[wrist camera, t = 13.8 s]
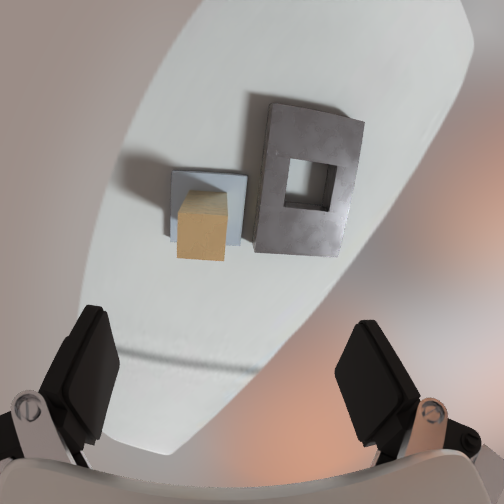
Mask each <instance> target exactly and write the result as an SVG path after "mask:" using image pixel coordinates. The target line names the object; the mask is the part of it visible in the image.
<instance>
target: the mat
mask: <svg viewBox="0 0 504 504" xmlns="http://www.w3.org/2000/svg"><path fill="white" fill-rule="evenodd" d="M247 177H248V176H247V175H242V174H230V173H216V172H199V171H177V170H173V171H172V177H171V214H170V242H177V223H178V211H179V209H180V207H181V205H182V203H183V201H184V200H185V198H186V196H187V194H188V192H189V190H198V191H212V192H225V193H227V204H228V222H227V233H226V244H225V245H233V246H240V243H241V233H242V224H243V214H244V205H245V196H246V186H247Z"/></svg>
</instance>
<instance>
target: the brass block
mask: <svg viewBox="0 0 504 504" xmlns="http://www.w3.org/2000/svg"><path fill="white" fill-rule="evenodd" d="M227 222H228V204H227V193H225V192H212V191H198V190H189V192H188V194H187V196H186V198H185V200H184V201H183V203H182V205H181V207H180V209H179V211H178V223H177V258H185V259H199V260H213V261H224V255H225V244H226V233H227Z"/></svg>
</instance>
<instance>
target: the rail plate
mask: <svg viewBox="0 0 504 504" xmlns="http://www.w3.org/2000/svg"><path fill="white" fill-rule="evenodd" d="M364 124H365V122H363V121H359V120H355V119H351V118H348V117H344V116H339V115H335V114H331V113H326V112H322V111H317V110H312V109H307V108H302V107H296V106H290V105H284V104H277V103H272V104H270V105H269V111H268V120H267V128H266V136H265V144H264V152H263V160H262V168H261V177H260V185H259V193H258V201H257V209H256V217H255V226H254V234H253V242H252V244H253V248H254V252H256V253H272V254H289V255H306V256H323V257H338V255H339V251H340V247H341V243H342V239H343V234H344V230H345V226H346V222H347V217H348V213H349V208H350V203H351V199H352V194H353V189H354V184H355V179H356V173H357V168H358V162H359V156H360V150H361V144H362V138H363V131H364ZM290 158H292V159H299V160H306V161H313V162H319V163H325V164H329V167H328V173H327V179H326V185H325V190H324V196H323V201H322V205H313V204H304V203H295V202H285V201H284V199H285V192H286V185H287V179H288V172H289V165H290Z"/></svg>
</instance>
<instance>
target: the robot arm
mask: <svg viewBox="0 0 504 504" xmlns="http://www.w3.org/2000/svg"><path fill="white" fill-rule="evenodd" d="M119 366H120V362H119V357H118V354H117V350H116V347H115V343H114V339H113V335H112V331H111V327H110V323H109V318H108V314H107V312H106V311H103V308H102V307H100V306H93V305H86V307H85V308H84V310H83V312H82V313H81V315H80V317H79V318H78V320H77V322H76V324H75V326H74V327H73V329H72V331H71V333H70V335H69V336H67V337H66V338H65V339H64V341H63V343H62V345H61V347H60V348H59V350H58V352H57V354H56V356H55V358H54V360H53V362H52V364H51V366H50V368H49V370H48V372H47V374H46V376H45V378H44V381H43V383H42V385H41V387H40V389H39V392H36V391H33V390H25V391H22V392H20V393H19V394H17V395H16V397H14V399H13V401H12V404H11V411H10V412H7V413H5V414H2V415H0V504H496V503H497V501H498V499H499V497H500V494H501V492H502V490H503V488H504V459H502V458H501V457H500V456H499V455H497V454H496V453H495V452H494V451H492V450H491V449H490V448H489V447H488V446H486V445H485V444H483V445H482V446H481V438H480V436H479V434H478V433H477V432H476V431H475V430H474V429H472V428H470V427H467V426H465V425H462V424H460V423H458V422H456V421H453V420H451V419H449V418H448V413H447V409H446V408H445V406H444V405H443V403H441V402H440V401H439V400H437V399H435V398H425V399H423V400H422V401H420V399H419V397H420V394H419V392H418V390H417V388H416V387H415V385H414V383H413V381H412V380H411V378H410V376H409V374H408V373H407V371H406V369H405V367H404V366H403V364H402V362H401V361H400V359H399V357H398V356H397V354H396V353H395V351H394V349H393V348H392V346H391V344H390V343H389V341H388V339H387V338H386V336H385V335H384V333H383V332H382V330H381V328H380V327H379V325H378V324H377V322H376V321H375V320H361V321H360V322H359V323H358V324H356V325H355V327H354V329H353V331H352V334H351V336H350V338H349V340H348V342H347V345H346V347H345V349H344V351H343V353H342V355H341V357H340V360H339V362H338V364H337V366H336V368H335V378H336V380H337V383H338V386H339V388H340V391H341V393H342V396H343V399H344V401H345V404H346V407H347V410H348V412H349V415H350V418H351V421H352V423H353V426H354V429H355V432H356V435H357V438H358V440H359V441H360V442H362V443H363V446H364V447H368V446H371V445H375V444H376V445H377V448H378V450H377V452H376V455H375V457H374V459H373V461H372V464H371V466H370V468H367V469H364V470H360V471H356V472H352V473H348V474H344V475H339V476H335V477H330V478H325V479H320V480H314V481H308V482H301V483H295V484H287V485H276V486H265V487H247V488H246V487H245V488H213V487H193V486H180V485H171V484H163V483H155V482H149V481H143V480H137V479H132V478H127V477H122V476H117V475H113V474H108V473H104V472H100V471H96V470H93V469H92V467H91V465H90V464H89V462H88V460H87V458H86V457H85V455H84V453H83V451H82V450H83V448H84V443H87V444H90V445H94V444H95V441H96V439H97V440H99V439H100V436H101V432H102V428H103V424H104V420H105V416H106V412H107V409H108V405H109V401H110V398H111V394H112V391H113V387H114V384H115V380H116V377H117V374H118V371H119Z"/></svg>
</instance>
